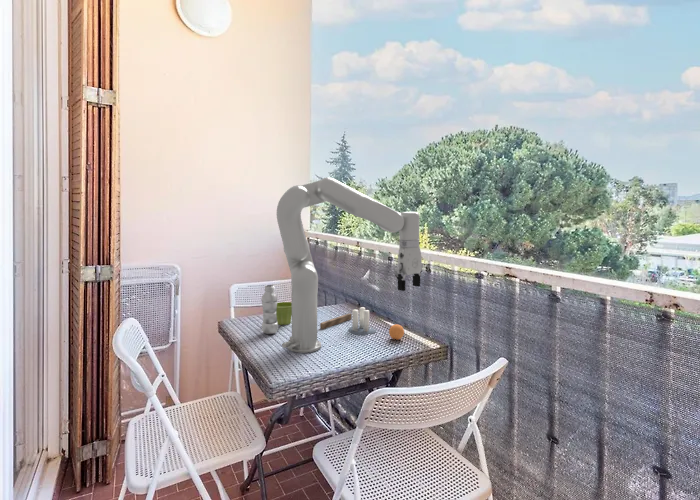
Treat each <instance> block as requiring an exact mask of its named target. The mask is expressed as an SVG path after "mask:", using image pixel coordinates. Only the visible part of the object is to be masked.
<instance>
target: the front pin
mask: <svg viewBox="0 0 700 500" xmlns="http://www.w3.org/2000/svg"><path fill="white" fill-rule="evenodd" d="M369 326H370V310H369V309H365V310H364V322H363V331H364V332H368V331H369Z"/></svg>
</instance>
